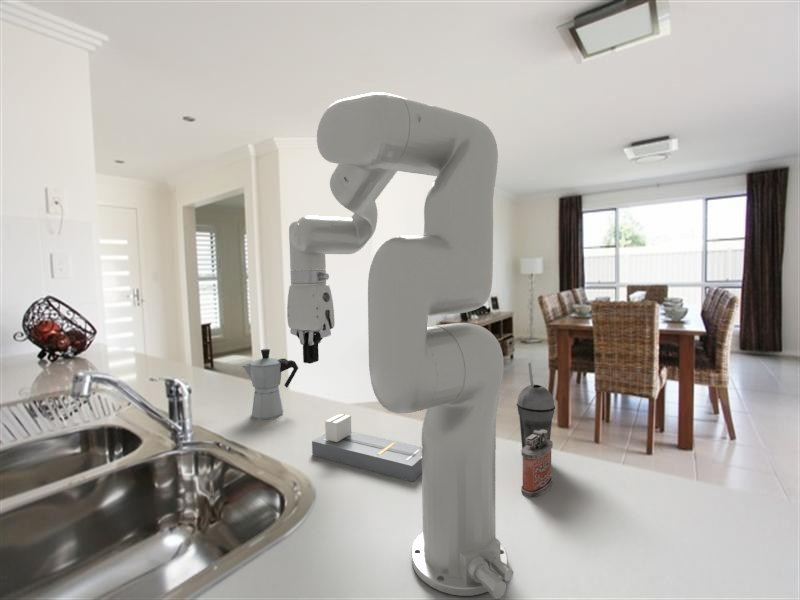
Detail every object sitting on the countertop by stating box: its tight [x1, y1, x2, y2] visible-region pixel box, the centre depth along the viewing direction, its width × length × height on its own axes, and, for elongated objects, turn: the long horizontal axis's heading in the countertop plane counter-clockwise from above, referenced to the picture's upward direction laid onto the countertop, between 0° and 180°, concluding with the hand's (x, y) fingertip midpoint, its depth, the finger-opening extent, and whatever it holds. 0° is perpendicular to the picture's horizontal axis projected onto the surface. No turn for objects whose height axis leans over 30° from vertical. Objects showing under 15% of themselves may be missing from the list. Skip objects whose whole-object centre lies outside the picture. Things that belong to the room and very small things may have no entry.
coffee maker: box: [240, 348, 299, 421], centre depth 112 cm, size 15×9×18 cm, turn 104°
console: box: [311, 431, 422, 482], centre depth 84 cm, size 24×8×3 cm, turn 60°
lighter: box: [520, 429, 554, 499], centre depth 72 cm, size 8×3×10 cm, turn 135°
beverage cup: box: [516, 362, 556, 450], centre depth 81 cm, size 7×7×20 cm
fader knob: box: [324, 413, 352, 442], centre depth 88 cm, size 3×5×4 cm, turn 151°
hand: (311, 361), depth 90 cm, fingers closed
